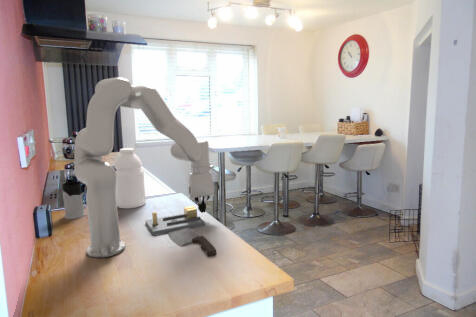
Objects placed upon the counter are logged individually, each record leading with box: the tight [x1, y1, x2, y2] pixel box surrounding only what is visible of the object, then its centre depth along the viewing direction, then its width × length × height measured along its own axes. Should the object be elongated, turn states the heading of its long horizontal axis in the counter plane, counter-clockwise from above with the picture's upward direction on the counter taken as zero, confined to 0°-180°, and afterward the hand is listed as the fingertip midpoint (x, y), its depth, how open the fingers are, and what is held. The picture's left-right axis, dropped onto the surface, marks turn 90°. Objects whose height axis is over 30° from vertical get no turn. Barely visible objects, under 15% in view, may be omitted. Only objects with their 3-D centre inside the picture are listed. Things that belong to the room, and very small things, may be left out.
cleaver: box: [166, 227, 217, 257], centre depth 127 cm, size 29×10×2 cm, turn 33°
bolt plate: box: [145, 211, 206, 236], centre depth 144 cm, size 14×21×6 cm, turn 116°
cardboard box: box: [183, 205, 198, 219], centre depth 147 cm, size 5×4×4 cm
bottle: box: [113, 147, 146, 209], centre depth 171 cm, size 14×14×28 cm
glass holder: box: [61, 181, 87, 220], centre depth 159 cm, size 9×14×15 cm, turn 130°
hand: (202, 211), depth 149 cm, fingers closed
